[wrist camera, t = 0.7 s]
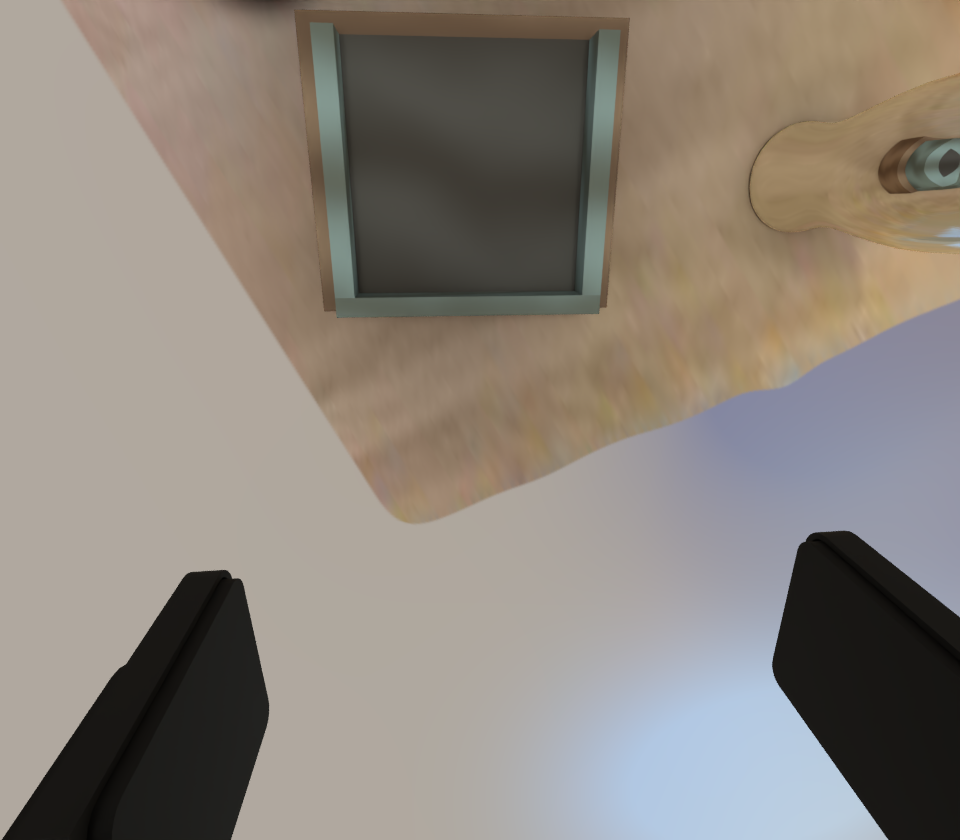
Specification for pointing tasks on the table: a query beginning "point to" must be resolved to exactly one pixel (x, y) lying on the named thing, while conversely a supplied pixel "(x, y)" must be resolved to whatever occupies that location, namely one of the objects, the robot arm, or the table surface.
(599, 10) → the table surface
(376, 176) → the dock
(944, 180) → the beer glass
